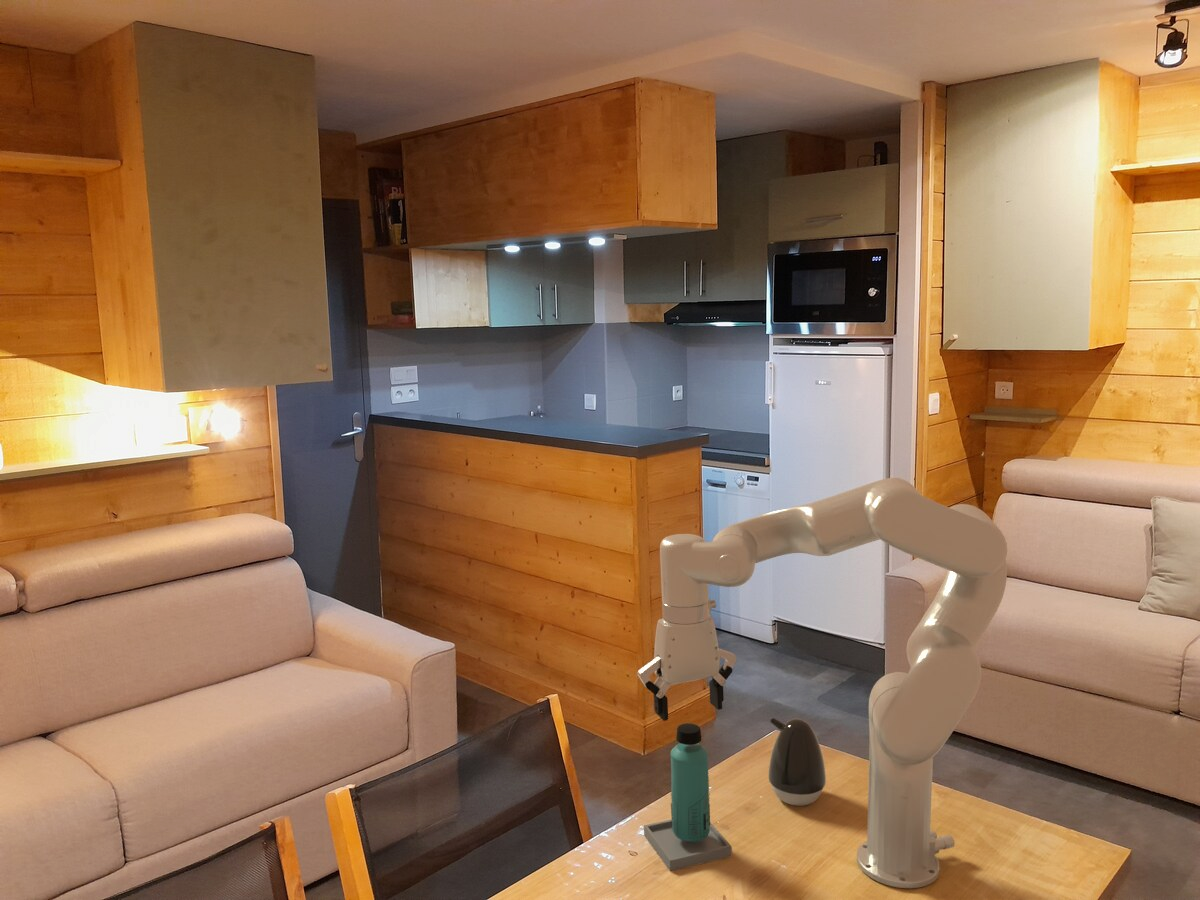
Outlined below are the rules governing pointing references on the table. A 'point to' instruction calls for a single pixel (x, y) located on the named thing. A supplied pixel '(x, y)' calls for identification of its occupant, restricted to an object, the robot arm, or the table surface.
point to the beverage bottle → (690, 785)
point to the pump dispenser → (796, 763)
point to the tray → (685, 846)
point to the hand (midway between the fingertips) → (689, 711)
